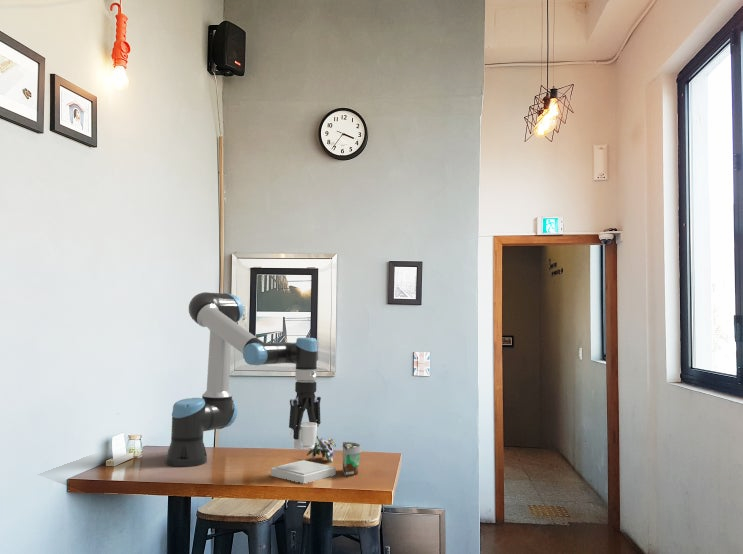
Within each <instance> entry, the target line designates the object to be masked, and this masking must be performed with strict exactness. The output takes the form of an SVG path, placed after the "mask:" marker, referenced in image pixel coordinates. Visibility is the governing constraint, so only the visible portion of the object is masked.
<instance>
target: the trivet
mask: <svg viewBox="0 0 743 554" xmlns="http://www.w3.org/2000/svg"><path fill="white" fill-rule="evenodd" d="M335 475H336V467H334V466H331V465H327V464H323V463H319V462H313V461H311V460H310V461H308V460H304V459H302V460H297V461H294V462H290V463H285V464H282V465H277V466H275V467H271V468H270V476H271V477H275V478H279V479H282V480H286V479H287V480H288V481H290V480H291V482H294V481H295V483H298V482H300V483H299V484H302V483H303V485H305V484H309V483H311V482H312V483H313V482H315V481H319V480H323V479H326V478H328V477H329V476H330V477H333V476H335ZM330 477H329V478H330ZM308 482H309V483H308ZM304 483H305V484H304Z"/></svg>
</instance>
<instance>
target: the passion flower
mask: <svg viewBox="0 0 743 554" xmlns="http://www.w3.org/2000/svg"><path fill="white" fill-rule="evenodd" d="M316 440H317V441H318V442H315V446H314V448H311V449H309V451H308V452H307V453H306V456H309V455H311V454H312V455H311V459H310V462H313V459H314V458H315V457H316V455H317V456H318V455H319V456H320V454H321V457H323V458H325V457H326V459H327V461H329V462H331V463H333V462H334V457H335V448H334V447H336V445H337V444H336V443H335V442H334V441H333V440H334V439H332V438H328V440H326V438H323V437H319V436H318V435H316ZM333 446H334V447H333Z"/></svg>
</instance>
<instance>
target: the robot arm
mask: <svg viewBox="0 0 743 554" xmlns="http://www.w3.org/2000/svg"><path fill="white" fill-rule="evenodd" d="M188 313H189V316H190V318H191V319H192V320H193V321H194V322H195V323H196V324H197V325H199V326H200V327H203V328H207V329H208V330H209V343H208V344H209V345H208V346H209V347H208V360H207V363H208V364H207V380H206V391H204V393H202V396H201V397H191V398H183V399H180V400H177V401H175V403H173V405H172V412H171V437H170V438H171V439H170V443H169V444H170V445H169V446H168V448H167V449H168V450H167V452H166V455H165V462H164V463H165V465H166V466H171V467H194V466H199V465H200V466H201V465H203V463H204V464H206V463H207V462H208V454H207V451H206V450H207V449H206V447H205V443H204V432H208V431H213V430H222V429H225V428H227V427H230V426H232V424H233V423H235V421H236V418H237V416H238V410H239V409H238V405H237V404H236V403H237V402H236V400H234V399H233V394H232V393H231V392H230V390H229V389H230V371H231V370H230V369H231V355H232V354H231V353H232V352H231V351H232V347H233V348H234V349H236V350H237V351H238V352H240V353H241V354H242V358H243V359H244V362H245V363H246V364H247V365H250V366H264V365H278V364H280V365H281V364H295V380H296V382H295V384H294V386H295V388H294V390H295V393H296V395H295V398H294V399H291V398H290V399H289V405H290V410H289V420H288V421H289V422H288V428H289V429H291V430H292V429H293V432H292V435H293V436H292V439H293V440H294V442H293V448H294V449H297V450H301V449H302V447H301V446H302V441H301V434H302V430H299V429H300V426H301V423H303V417H304V413H305V411H306V413H307V417H308V422H314V423H317V428H319V425H320V424H321V423H322V422H321V400H322V399H321V398H322V397H321V396H317V395H316V394H315V393H316V392H317V374H318V373H317V368H318V367H317V365H318V364H317V363H318V351H319V349H318V341H317V339H316V338H314V337H297V338H296V341H295V342H286V341H285V342H284V341H277V342H264V341H262V340H261V339H260V338H258V337H256V336H255V335H254V334H253V333H251V332H250V331H248V330H247V329H246V328H244V327H242V326H241V325H240V324H238V322H239V321H240V320H241V319H242V317H243V315H244V307H243V303H242V301H241V299H240V298H239V297H238V296H237V295H235V294H231V293H225V292H223V293H221V292H220V293H219V292H218V293H217V292H200V293H198V294H196V295H194V296H193V297H192V298H191V300H190V302H189V303H188ZM314 446H315V444H314ZM205 462H206V463H205Z"/></svg>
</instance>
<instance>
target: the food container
mask: <svg viewBox="0 0 743 554" xmlns="http://www.w3.org/2000/svg"><path fill="white" fill-rule="evenodd" d="M362 452H363V451H362V447H361V444H359V443H356V442H351V441H343V442H342V472H343V474H344V476H345V477H346V476H350V477H355V476H358V474H359V465H360V457H361V456H360V453H362ZM354 475H355V476H354Z"/></svg>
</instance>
